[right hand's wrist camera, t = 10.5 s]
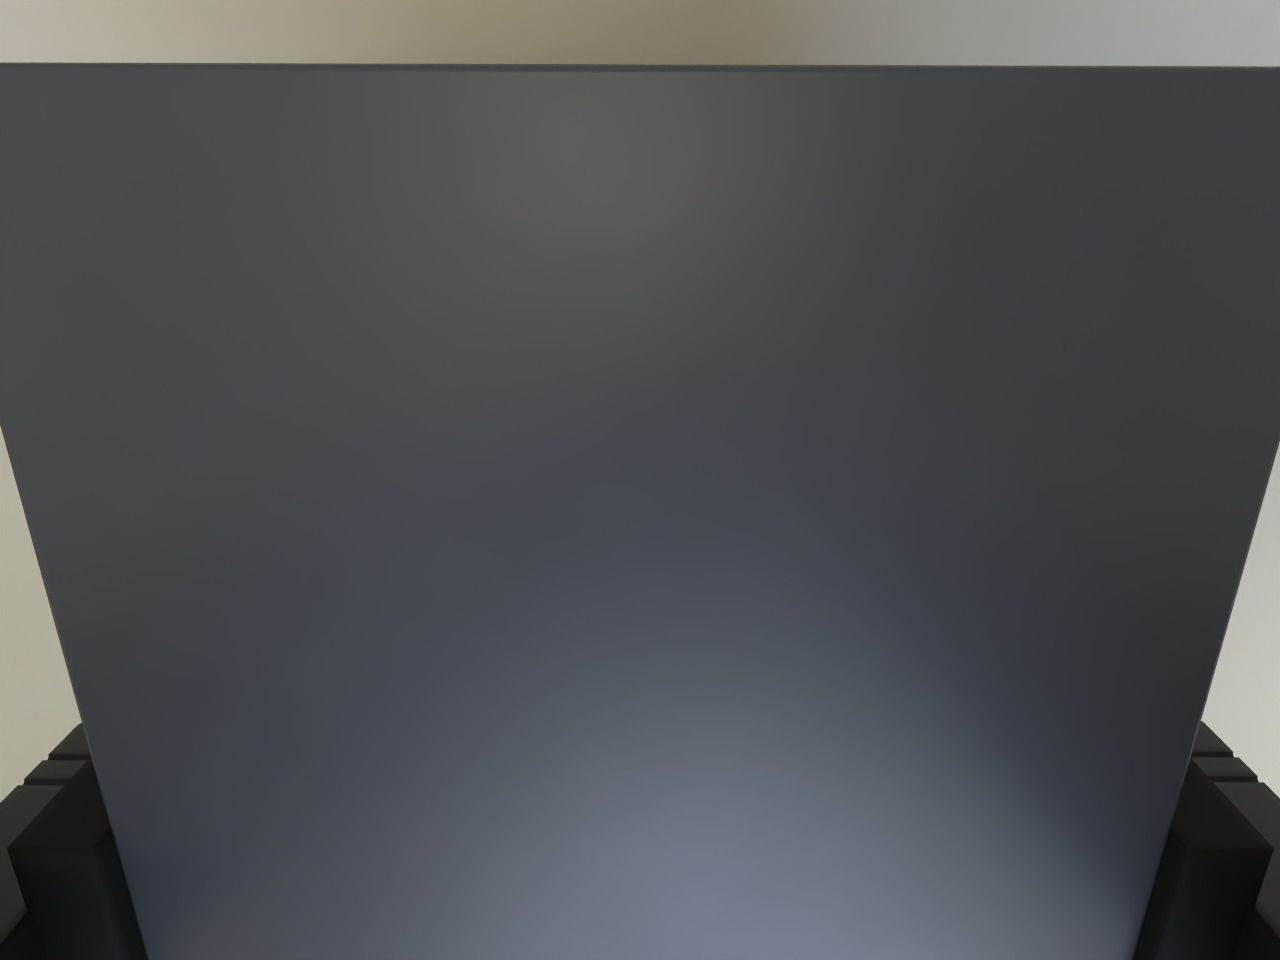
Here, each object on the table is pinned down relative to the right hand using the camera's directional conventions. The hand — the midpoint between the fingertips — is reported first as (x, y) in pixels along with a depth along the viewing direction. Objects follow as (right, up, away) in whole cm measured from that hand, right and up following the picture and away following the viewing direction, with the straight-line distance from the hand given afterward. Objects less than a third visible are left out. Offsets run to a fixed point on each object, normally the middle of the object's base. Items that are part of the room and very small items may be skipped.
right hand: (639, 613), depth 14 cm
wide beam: (0, -21, +9) cm, 22 cm away
